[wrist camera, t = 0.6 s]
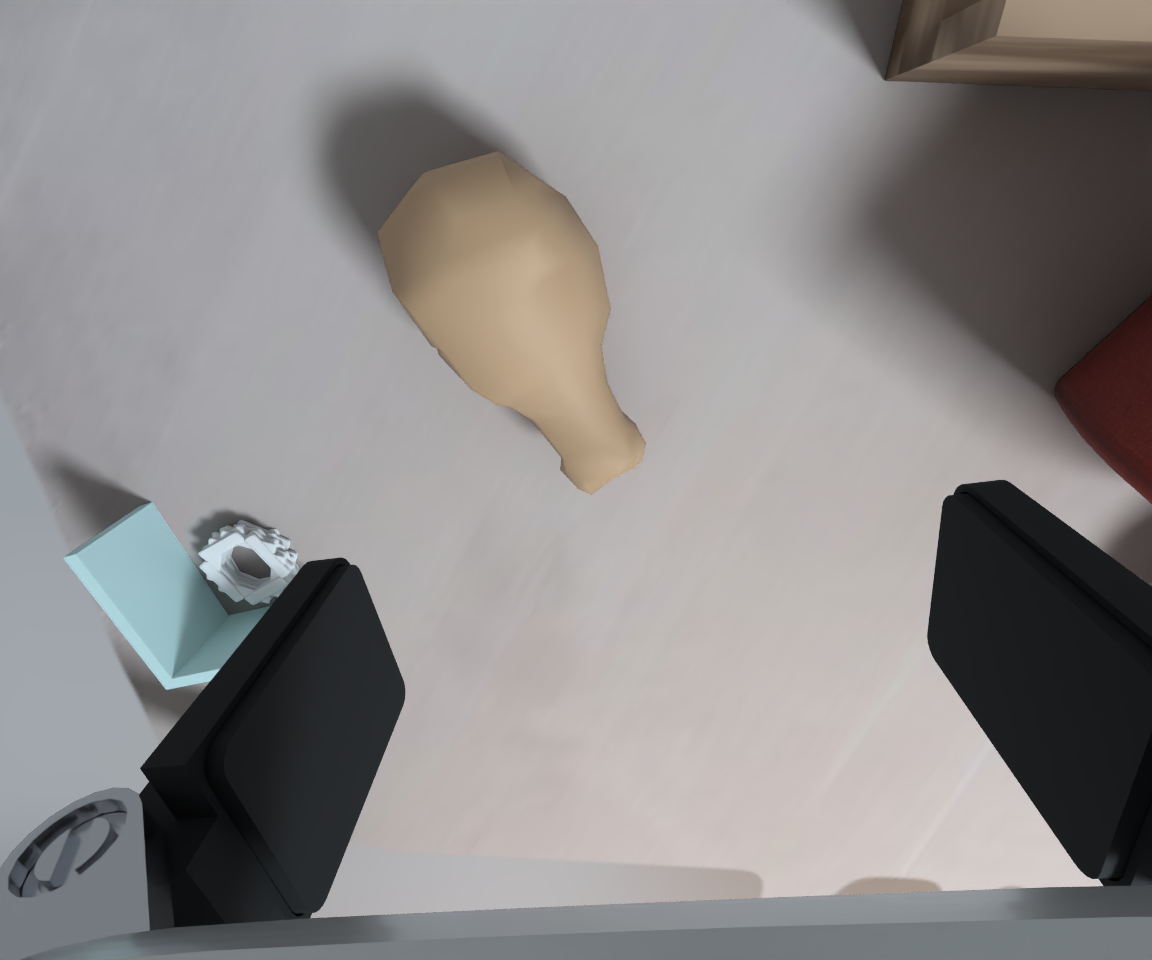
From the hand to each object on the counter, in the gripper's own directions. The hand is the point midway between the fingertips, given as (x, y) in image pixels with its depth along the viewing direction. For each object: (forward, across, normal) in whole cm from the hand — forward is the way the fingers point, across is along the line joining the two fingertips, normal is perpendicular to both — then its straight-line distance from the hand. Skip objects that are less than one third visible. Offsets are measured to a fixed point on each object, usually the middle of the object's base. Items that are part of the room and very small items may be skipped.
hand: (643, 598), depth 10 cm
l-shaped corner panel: (+31, +31, +15) cm, 46 cm away
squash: (+30, +5, +1) cm, 31 cm away
